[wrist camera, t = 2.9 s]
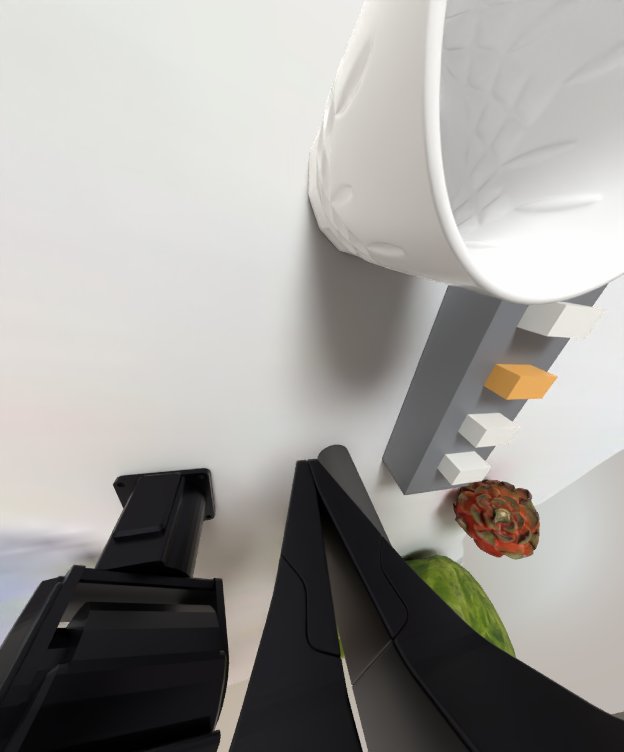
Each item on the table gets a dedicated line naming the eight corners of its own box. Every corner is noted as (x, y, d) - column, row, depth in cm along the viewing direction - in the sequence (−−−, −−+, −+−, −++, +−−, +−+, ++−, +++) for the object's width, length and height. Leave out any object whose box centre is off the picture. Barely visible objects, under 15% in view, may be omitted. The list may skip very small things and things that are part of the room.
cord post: (344, 465, 22) (399, 599, 14) (315, 468, 22) (355, 611, 13) (351, 443, 21) (416, 577, 13) (320, 446, 20) (367, 589, 12)
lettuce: (303, 687, 31) (404, 800, 30) (450, 672, 21) (617, 846, 19) (337, 557, 47) (404, 626, 46) (430, 512, 37) (520, 600, 35)
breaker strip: (438, 453, 25) (482, 501, 20) (382, 458, 23) (415, 513, 18) (551, 244, 16) (683, 244, 11) (470, 228, 14) (584, 218, 9)
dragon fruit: (441, 464, 29) (474, 473, 36) (432, 536, 27) (468, 531, 34) (532, 489, 22) (552, 494, 29) (528, 588, 21) (550, 569, 27)
